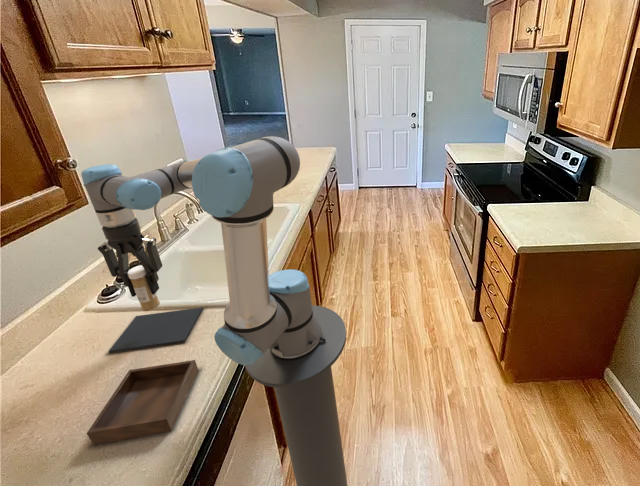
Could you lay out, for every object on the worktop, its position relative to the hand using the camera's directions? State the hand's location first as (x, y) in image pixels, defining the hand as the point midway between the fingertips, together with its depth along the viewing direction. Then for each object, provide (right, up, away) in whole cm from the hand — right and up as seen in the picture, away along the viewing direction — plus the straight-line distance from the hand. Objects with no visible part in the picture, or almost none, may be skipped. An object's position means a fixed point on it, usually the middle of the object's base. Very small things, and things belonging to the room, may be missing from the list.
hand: (145, 292), depth 97 cm
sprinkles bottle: (0, -5, +2) cm, 6 cm away
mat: (0, -13, +5) cm, 14 cm away
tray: (+15, -22, -17) cm, 31 cm away
